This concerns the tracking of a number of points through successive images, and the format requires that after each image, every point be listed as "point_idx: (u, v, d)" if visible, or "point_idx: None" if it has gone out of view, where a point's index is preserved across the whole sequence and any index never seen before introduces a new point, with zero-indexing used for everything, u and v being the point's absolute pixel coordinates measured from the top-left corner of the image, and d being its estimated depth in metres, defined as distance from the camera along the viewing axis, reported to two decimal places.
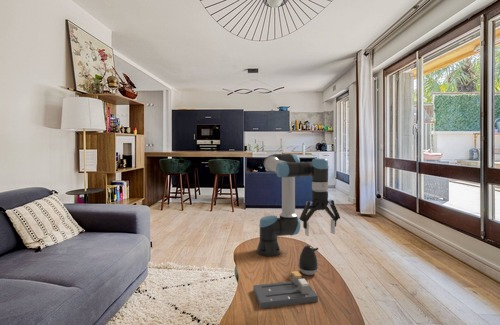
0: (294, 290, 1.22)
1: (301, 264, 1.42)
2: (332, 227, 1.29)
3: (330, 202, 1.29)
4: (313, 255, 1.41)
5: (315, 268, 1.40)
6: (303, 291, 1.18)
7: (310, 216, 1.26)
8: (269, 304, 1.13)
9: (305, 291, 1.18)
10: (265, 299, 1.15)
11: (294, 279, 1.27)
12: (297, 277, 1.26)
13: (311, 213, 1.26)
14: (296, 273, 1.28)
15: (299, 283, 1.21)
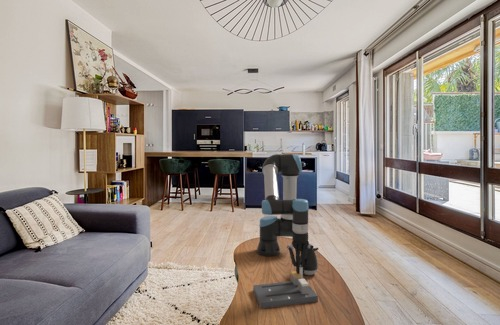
0: (294, 290, 1.22)
1: None
2: None
3: (309, 246, 1.29)
4: (313, 255, 1.41)
5: (315, 268, 1.40)
6: (303, 291, 1.18)
7: (299, 260, 1.27)
8: (269, 304, 1.13)
9: (305, 291, 1.18)
10: (265, 299, 1.15)
11: (293, 279, 1.27)
12: (296, 277, 1.26)
13: (298, 257, 1.27)
14: (295, 273, 1.28)
15: (299, 283, 1.21)
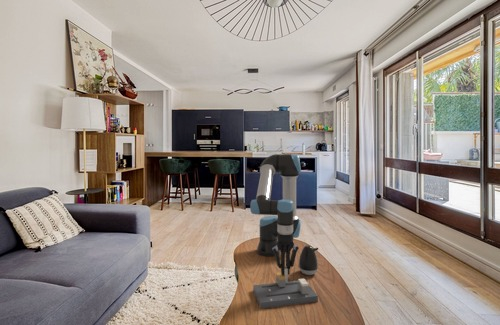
0: (294, 290, 1.22)
1: (301, 264, 1.42)
2: None
3: (294, 247, 1.27)
4: (313, 255, 1.41)
5: (315, 268, 1.40)
6: (303, 291, 1.18)
7: (284, 261, 1.25)
8: (269, 304, 1.13)
9: (305, 291, 1.18)
10: (265, 299, 1.15)
11: (278, 281, 1.26)
12: (281, 279, 1.24)
13: (283, 258, 1.25)
14: (280, 275, 1.27)
15: (299, 283, 1.21)
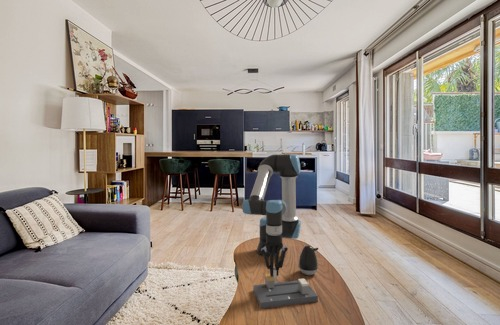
0: (294, 290, 1.22)
1: (301, 264, 1.42)
2: (274, 276, 1.26)
3: (283, 248, 1.26)
4: (313, 255, 1.41)
5: (315, 268, 1.40)
6: (303, 291, 1.18)
7: (273, 262, 1.24)
8: (269, 304, 1.13)
9: (305, 291, 1.18)
10: (265, 299, 1.15)
11: (267, 282, 1.24)
12: (269, 280, 1.23)
13: (272, 259, 1.24)
14: (269, 276, 1.25)
15: (299, 283, 1.21)
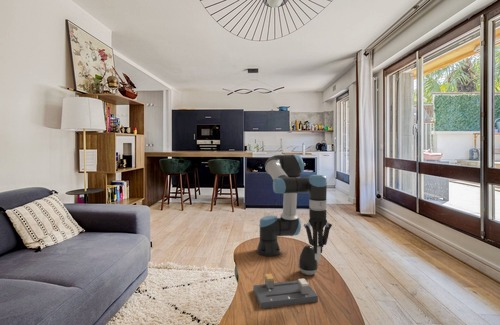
0: (294, 290, 1.22)
1: (301, 264, 1.42)
2: None
3: (327, 224, 1.21)
4: (313, 255, 1.41)
5: (315, 268, 1.40)
6: (303, 291, 1.18)
7: (317, 239, 1.20)
8: (269, 304, 1.13)
9: (305, 291, 1.18)
10: (265, 299, 1.15)
11: (266, 282, 1.24)
12: (269, 280, 1.23)
13: (316, 236, 1.20)
14: (269, 276, 1.25)
15: (299, 283, 1.21)
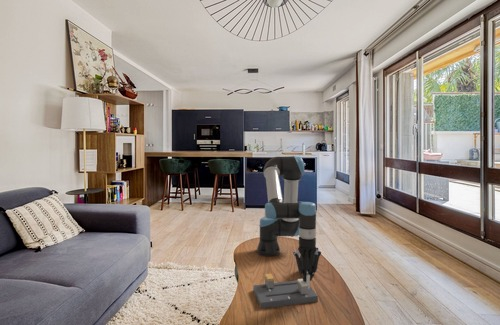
0: (294, 290, 1.22)
1: (301, 264, 1.42)
2: None
3: (317, 252, 1.21)
4: (313, 255, 1.41)
5: None
6: (302, 291, 1.18)
7: (306, 267, 1.19)
8: (269, 304, 1.13)
9: (304, 291, 1.18)
10: (265, 299, 1.15)
11: (266, 282, 1.24)
12: (269, 280, 1.23)
13: (305, 264, 1.19)
14: (269, 276, 1.25)
15: (298, 283, 1.21)
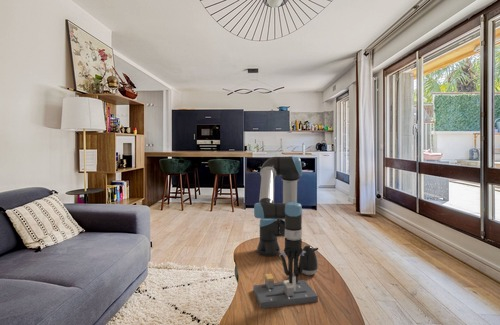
0: None
1: None
2: None
3: (303, 253, 1.19)
4: (313, 255, 1.41)
5: (315, 268, 1.40)
6: (288, 293, 1.17)
7: (292, 268, 1.18)
8: (269, 304, 1.13)
9: (290, 293, 1.17)
10: (265, 299, 1.15)
11: (266, 282, 1.24)
12: (269, 280, 1.23)
13: (291, 265, 1.18)
14: (269, 276, 1.25)
15: (284, 285, 1.20)
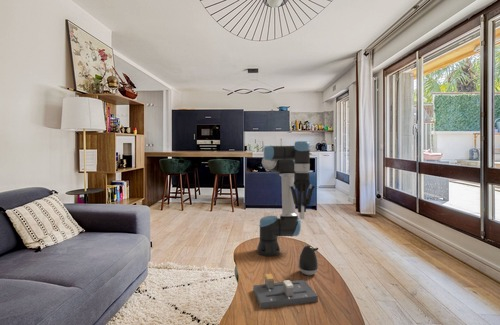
0: (294, 290, 1.22)
1: (301, 264, 1.42)
2: None
3: (310, 186, 1.34)
4: (313, 255, 1.41)
5: (315, 268, 1.40)
6: (288, 293, 1.16)
7: (301, 199, 1.32)
8: (269, 304, 1.13)
9: (290, 293, 1.17)
10: (265, 299, 1.15)
11: (266, 282, 1.24)
12: (269, 280, 1.23)
13: (300, 196, 1.32)
14: (269, 276, 1.25)
15: (284, 285, 1.19)
